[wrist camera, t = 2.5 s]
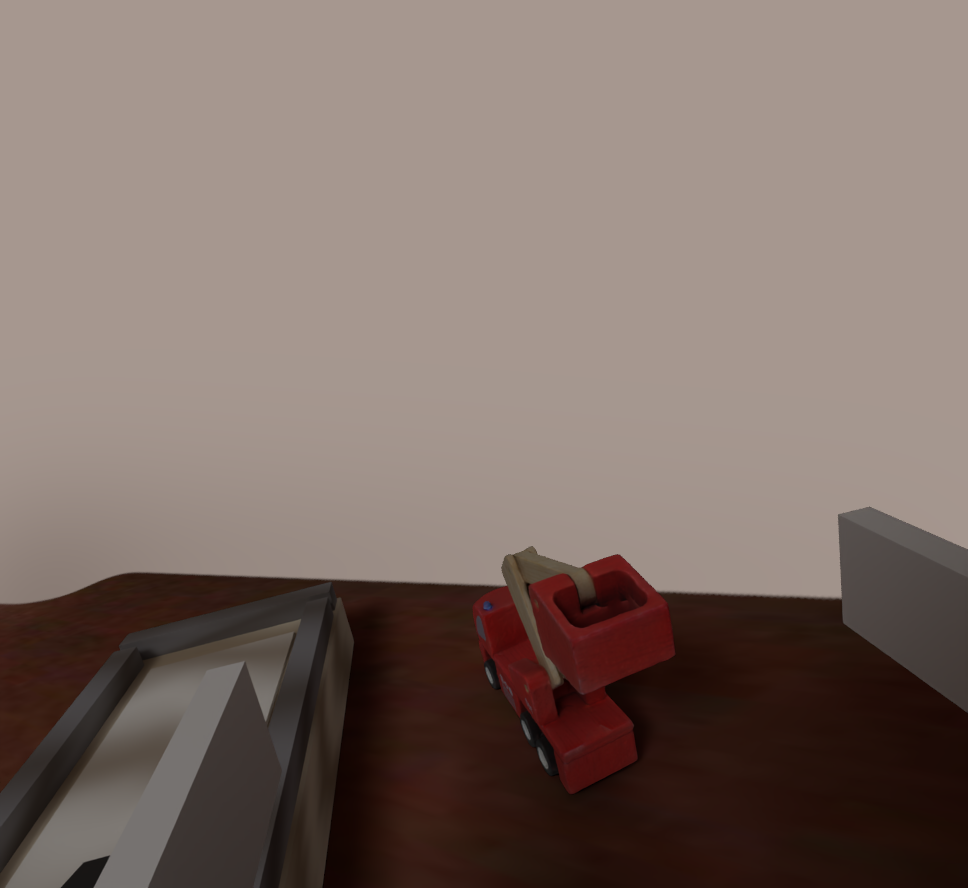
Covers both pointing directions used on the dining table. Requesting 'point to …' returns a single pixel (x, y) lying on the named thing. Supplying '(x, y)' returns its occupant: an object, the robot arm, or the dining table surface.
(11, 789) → the dock
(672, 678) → the dining table surface
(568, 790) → the toy fire truck
